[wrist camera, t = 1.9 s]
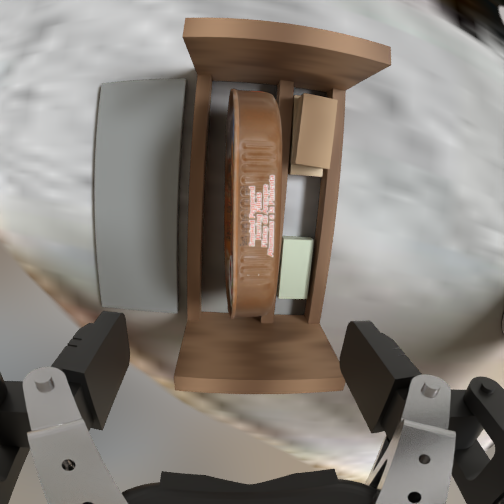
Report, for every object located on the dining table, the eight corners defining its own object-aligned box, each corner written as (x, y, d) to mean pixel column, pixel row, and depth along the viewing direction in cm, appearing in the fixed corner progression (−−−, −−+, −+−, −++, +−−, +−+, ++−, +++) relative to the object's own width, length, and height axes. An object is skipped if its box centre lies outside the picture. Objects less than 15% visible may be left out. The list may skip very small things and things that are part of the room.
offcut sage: (309, 236, 25) (313, 240, 24) (303, 292, 27) (307, 298, 25) (280, 234, 25) (283, 239, 24) (276, 291, 27) (278, 298, 25)
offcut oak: (329, 104, 21) (337, 100, 19) (322, 168, 22) (329, 169, 20) (298, 98, 20) (304, 92, 19) (290, 163, 22) (295, 163, 20)
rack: (339, 81, 21) (390, 46, 13) (312, 326, 27) (342, 390, 19) (201, 66, 21) (185, 18, 12) (190, 323, 26) (175, 390, 18)
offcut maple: (318, 103, 22) (325, 98, 20) (315, 175, 24) (322, 176, 22) (289, 100, 22) (294, 95, 20) (286, 173, 24) (290, 174, 22)
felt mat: (186, 80, 21) (185, 78, 20) (178, 310, 26) (177, 313, 25) (104, 85, 20) (101, 83, 20) (104, 303, 25) (102, 306, 25)
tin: (226, 102, 22) (224, 71, 14) (267, 103, 22) (286, 74, 14) (224, 288, 26) (222, 344, 18) (262, 288, 26) (275, 343, 18)
